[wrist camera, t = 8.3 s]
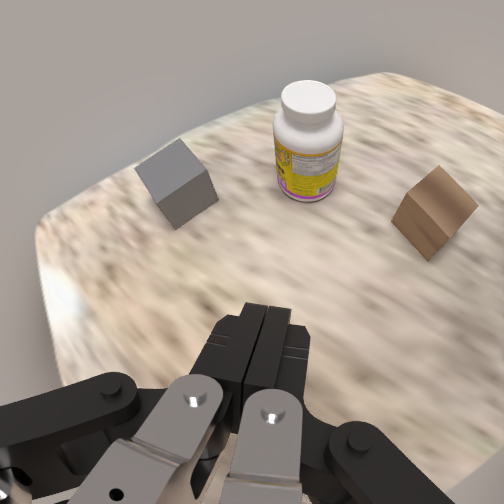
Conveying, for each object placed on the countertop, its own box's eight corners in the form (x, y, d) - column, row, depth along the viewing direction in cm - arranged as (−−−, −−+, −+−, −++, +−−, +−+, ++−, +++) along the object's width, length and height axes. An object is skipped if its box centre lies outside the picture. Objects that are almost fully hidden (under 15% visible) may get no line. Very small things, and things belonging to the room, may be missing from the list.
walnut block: (421, 194, 34) (438, 165, 28) (455, 231, 31) (478, 205, 26) (390, 221, 33) (406, 192, 27) (427, 261, 31) (449, 238, 25)
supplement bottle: (280, 155, 38) (273, 71, 26) (334, 160, 37) (345, 76, 25) (274, 202, 35) (265, 118, 23) (334, 207, 34) (350, 124, 22)
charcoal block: (193, 169, 38) (179, 138, 33) (219, 200, 36) (206, 169, 31) (153, 196, 38) (134, 168, 32) (175, 230, 35) (156, 203, 30)
